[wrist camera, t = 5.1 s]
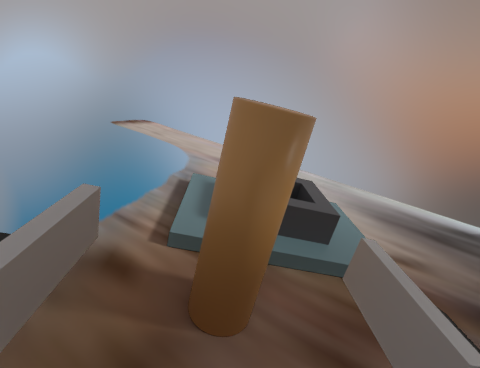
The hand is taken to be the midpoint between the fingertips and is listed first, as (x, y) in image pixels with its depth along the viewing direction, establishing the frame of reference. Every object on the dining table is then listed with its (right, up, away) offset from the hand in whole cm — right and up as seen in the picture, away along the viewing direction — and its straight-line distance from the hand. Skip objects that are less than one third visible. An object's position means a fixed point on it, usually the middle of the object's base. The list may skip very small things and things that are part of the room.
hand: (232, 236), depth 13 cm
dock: (+4, -2, +19) cm, 20 cm away
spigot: (-1, -6, +5) cm, 8 cm away
